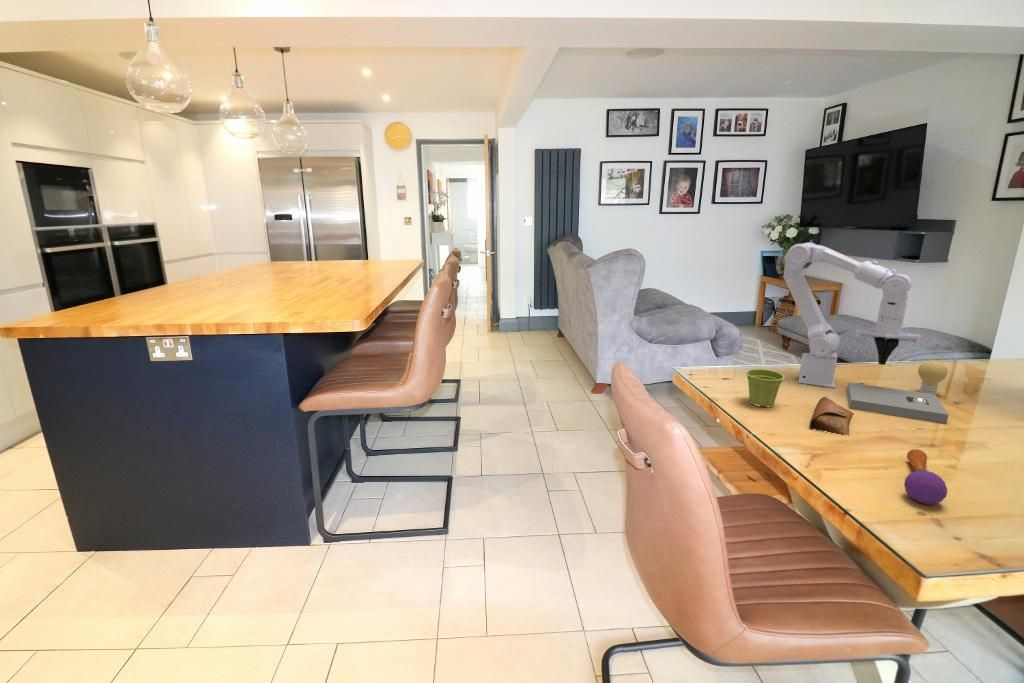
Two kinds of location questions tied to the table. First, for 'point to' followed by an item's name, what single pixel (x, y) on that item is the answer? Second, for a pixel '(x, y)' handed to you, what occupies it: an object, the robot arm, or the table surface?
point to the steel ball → (919, 400)
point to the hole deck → (896, 402)
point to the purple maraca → (923, 480)
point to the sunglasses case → (831, 417)
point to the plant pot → (763, 386)
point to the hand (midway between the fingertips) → (881, 363)
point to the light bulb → (931, 376)
